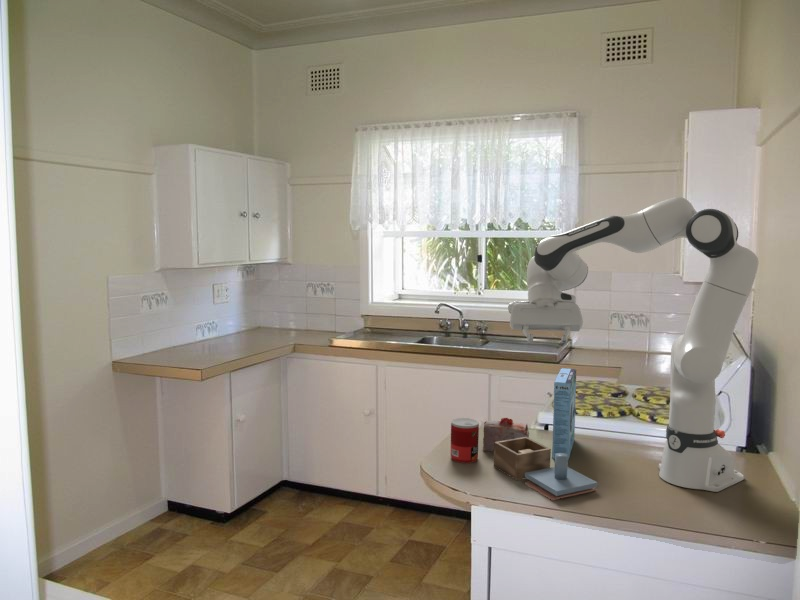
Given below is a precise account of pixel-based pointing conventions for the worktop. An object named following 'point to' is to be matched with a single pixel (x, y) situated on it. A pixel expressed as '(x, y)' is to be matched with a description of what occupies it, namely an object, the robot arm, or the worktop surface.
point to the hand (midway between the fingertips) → (547, 341)
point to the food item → (502, 432)
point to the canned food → (464, 440)
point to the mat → (552, 496)
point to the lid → (561, 478)
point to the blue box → (564, 412)
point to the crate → (520, 456)
